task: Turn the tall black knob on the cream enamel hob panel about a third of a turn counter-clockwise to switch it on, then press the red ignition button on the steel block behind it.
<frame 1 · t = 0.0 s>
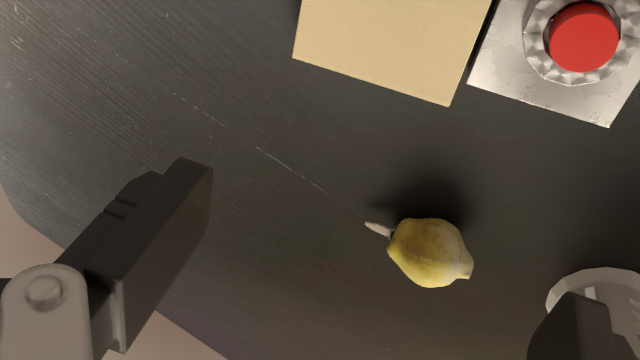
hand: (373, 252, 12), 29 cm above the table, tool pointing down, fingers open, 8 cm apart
fruit: (420, 228, 50), on the table
ignite button: (582, 38, 32), point 4 cm above the table, slide at 0.1 cm
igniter: (575, 12, 36), on the table
french press: (600, 298, 49), on the table
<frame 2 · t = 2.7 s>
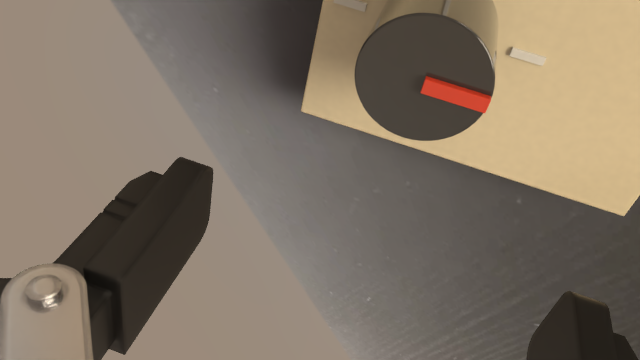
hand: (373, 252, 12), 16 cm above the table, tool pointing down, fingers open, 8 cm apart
hob panel: (508, 27, 24), on the table
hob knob: (430, 54, 21), point 5 cm above the table, hinge at 0.0°
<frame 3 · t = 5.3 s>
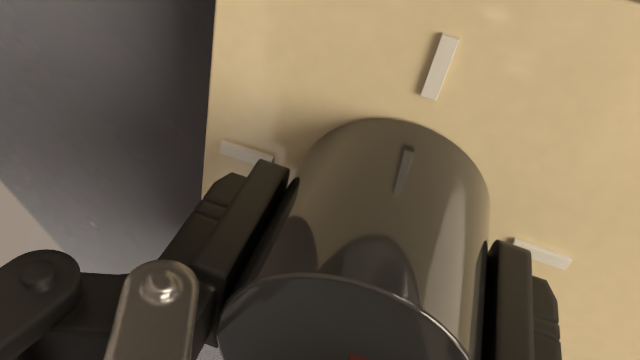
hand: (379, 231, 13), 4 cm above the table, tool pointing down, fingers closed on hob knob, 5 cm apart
hob panel: (508, 181, 15), on the table
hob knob: (367, 278, 12), point 5 cm above the table, hinge at 0.0°, touching gripper
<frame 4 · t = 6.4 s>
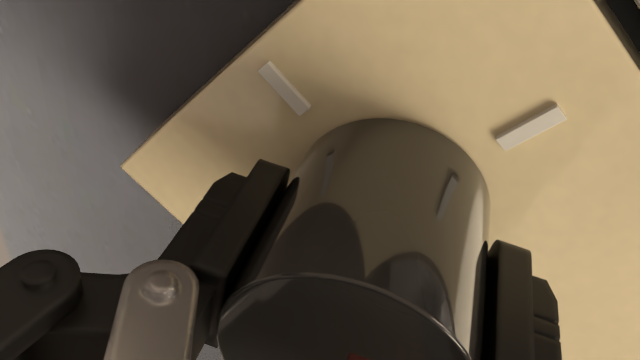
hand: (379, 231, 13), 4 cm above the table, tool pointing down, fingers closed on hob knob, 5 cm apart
hob panel: (467, 218, 16), on the table
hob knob: (367, 278, 12), point 5 cm above the table, hinge at 35.6°, touching gripper
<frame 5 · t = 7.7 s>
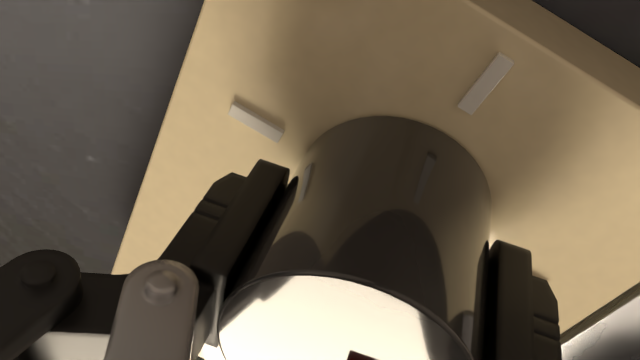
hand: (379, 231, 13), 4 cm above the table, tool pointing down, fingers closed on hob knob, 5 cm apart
hob panel: (356, 209, 17), on the table
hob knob: (368, 276, 12), point 5 cm above the table, hinge at 106.2°, touching gripper
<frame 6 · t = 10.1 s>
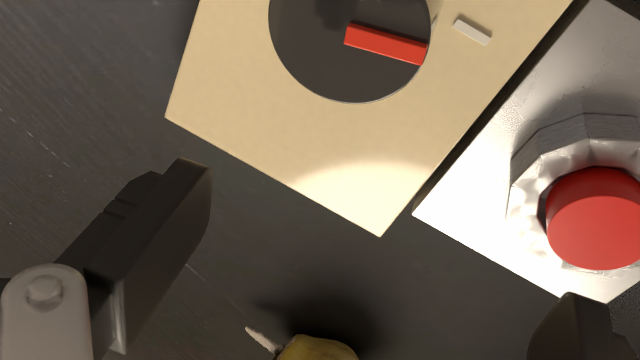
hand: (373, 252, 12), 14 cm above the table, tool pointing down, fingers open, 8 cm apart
hob panel: (358, 22, 23), on the table
fruit: (317, 343, 38), on the table
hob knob: (364, 2, 18), point 5 cm above the table, hinge at 105.2°
ignite button: (597, 219, 21), point 4 cm above the table, slide at 0.1 cm
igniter: (587, 154, 24), on the table
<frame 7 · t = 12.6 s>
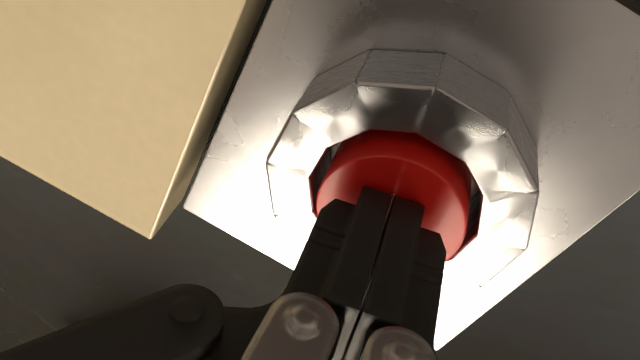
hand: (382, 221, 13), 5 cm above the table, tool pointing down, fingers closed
ignite button: (394, 197, 14), point 4 cm above the table, slide at -0.7 cm, touching gripper
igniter: (415, 123, 16), on the table
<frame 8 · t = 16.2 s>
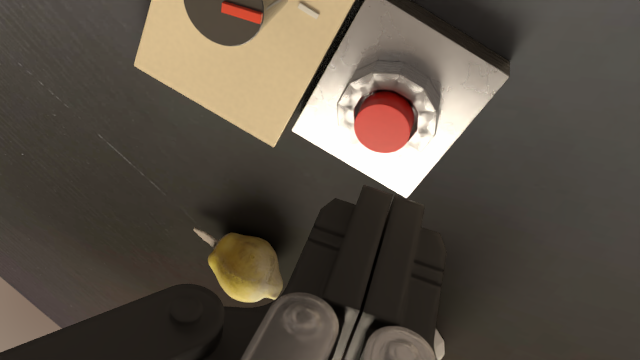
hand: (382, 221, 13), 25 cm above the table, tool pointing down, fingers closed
hob panel: (253, 5, 38), on the table
fruit: (246, 243, 53), on the table
ignite button: (384, 122, 35), point 4 cm above the table, slide at 0.1 cm
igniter: (395, 91, 39), on the table
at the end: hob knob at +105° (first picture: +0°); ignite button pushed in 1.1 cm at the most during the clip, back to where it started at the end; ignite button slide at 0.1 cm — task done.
